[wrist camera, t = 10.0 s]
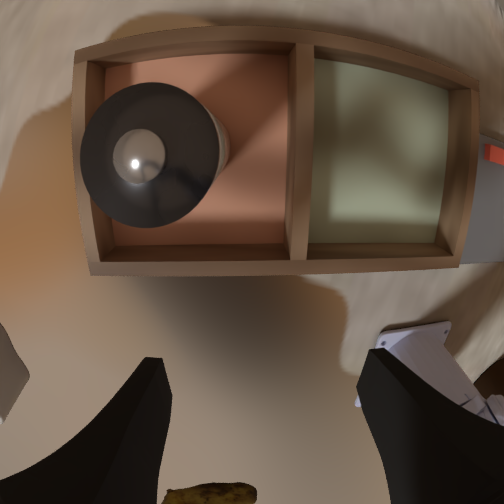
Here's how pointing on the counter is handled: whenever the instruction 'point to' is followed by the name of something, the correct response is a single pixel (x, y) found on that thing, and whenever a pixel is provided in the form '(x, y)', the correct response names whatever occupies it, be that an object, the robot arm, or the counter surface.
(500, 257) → the grey square base plate
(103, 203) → the cell
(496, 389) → the olive oil
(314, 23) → the counter surface
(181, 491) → the potato
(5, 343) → the lumpy-topped squat cylinder
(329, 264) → the sorting tray
